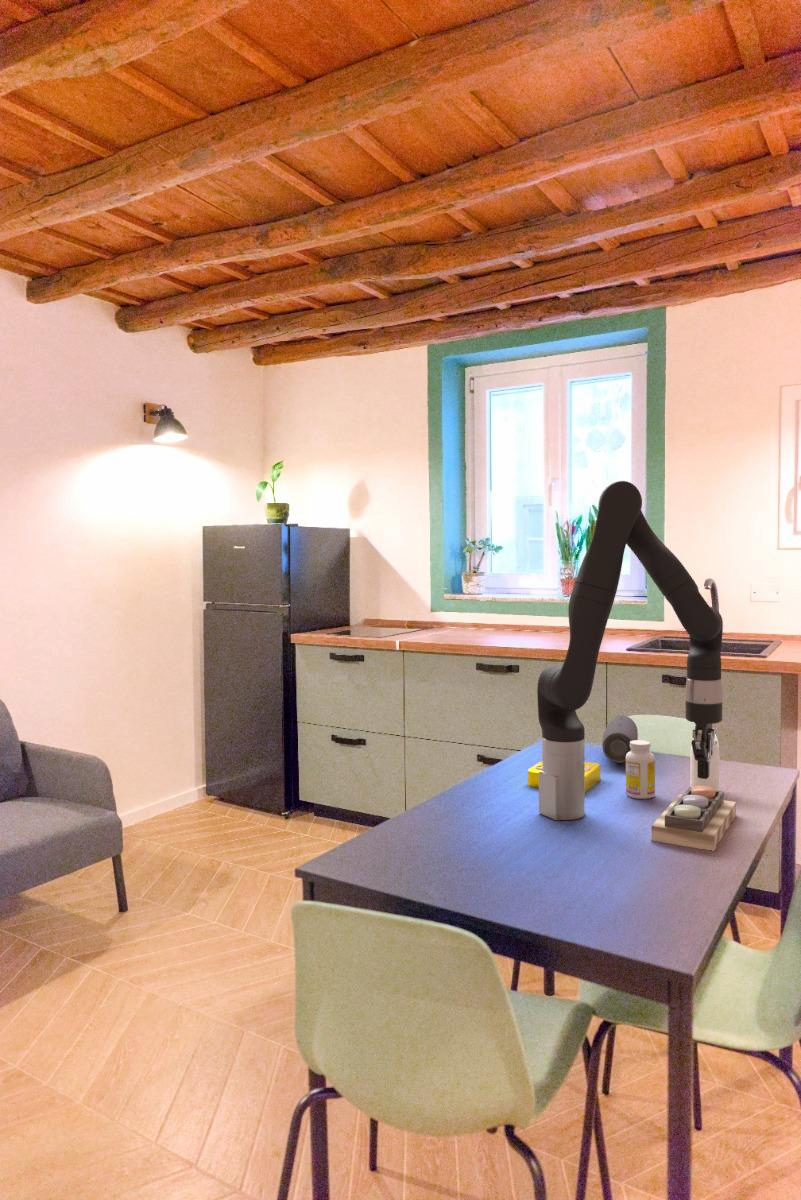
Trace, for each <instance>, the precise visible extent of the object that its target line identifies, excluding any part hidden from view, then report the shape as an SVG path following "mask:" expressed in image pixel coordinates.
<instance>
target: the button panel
mask: <svg viewBox="0 0 801 1200" xmlns="http://www.w3.org/2000/svg"><path fill="white" fill-rule="evenodd" d="M724 793H725V792H724V791H722V790H719V791H716V790H715V799H710V798H708V809H703V808H700V809H701V817H700V820H697V819H690V818H684V817H677V816H674V807H675V806H677V805H683V797H684V796H686V795H691V787H690V786H689V788H687V789H686V791H684V793H683V794H682V793H679V794H678V795H677V796H676V798H674V799H673V801H672V802H671V803H670V804H669V805H668V807H667V808H665V809H664V811H663V812H662V813H661V814H660V815H659V817H657V819H656V820H655V821H654V822H653V824H651V827H650V828H651V830H650V831H651V833H650V834H651V836H650V837H651V838H650V839H651V841H653V842H658V843H665V844H666V843H667V844H671V845H677V846H683V847H688V848H695V849H700V850H705V849H706V851H710V850H712V852H714V851H715V850H716V848H717V847H718V845H719V843H720V842H721V841H722V839H723V837H724V835H725V834H726V832H727V831H728V830H729V828H730V826H731V824H732V822H733V821H734V819H735V818H736V816H737V802H736V801H732V800H725V799H724V798H725V797H724V795H725V794H724Z"/></svg>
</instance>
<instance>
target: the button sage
mask: <svg viewBox="0 0 801 1200" xmlns="http://www.w3.org/2000/svg"><path fill="white" fill-rule="evenodd" d="M674 816H677V817H684V818H690V819H697V820H700V817H701V809H700V808H699V807H696V806H693V805H677V806H675V807H674Z"/></svg>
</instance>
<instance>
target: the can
mask: <svg viewBox="0 0 801 1200" xmlns="http://www.w3.org/2000/svg"><path fill="white" fill-rule="evenodd" d="M689 771H690V778H689V780H690V781H689V782H690V786H689V787H693V786H708V787H712V788H714V789H715V790H716V791H720V748H719V745H718V741H717V740H715V739H714V744H713V754H712V756H711V759H710V760H709V777H708V778H707V779H702V778H698V776H697V773H698V761H697V760H695V758H694V753H693V748H692V744H690V770H689Z"/></svg>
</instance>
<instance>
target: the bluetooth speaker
mask: <svg viewBox="0 0 801 1200" xmlns="http://www.w3.org/2000/svg"><path fill="white" fill-rule="evenodd" d="M638 738H639V732H638V726H637V724H636V722H635V721H634V720H633V719H632V718H631V717H629V716H627V715H618V716H614V717H613V718H612V719H610V721H609V722H608V723H607V725H606V728H605V730H604V732H603V736H602V742H601V745H602V746H601V747H602V751H603V754H604V755H605V757H606V758H607V759H608V760H610V761H611V762H613V763H619V764H620V763H621V764H622V763H626V754H627V753H628V752H630V751H631V748H630V741H633V740H639V739H638Z"/></svg>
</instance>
